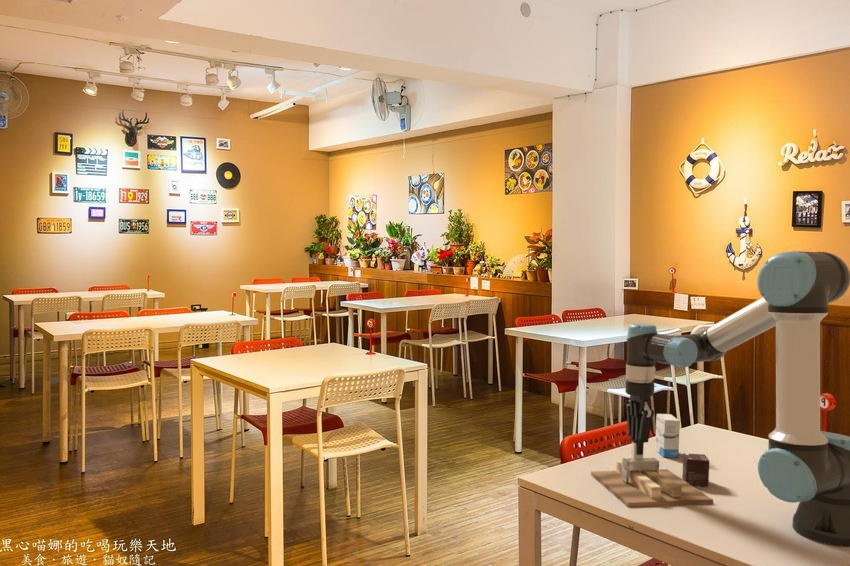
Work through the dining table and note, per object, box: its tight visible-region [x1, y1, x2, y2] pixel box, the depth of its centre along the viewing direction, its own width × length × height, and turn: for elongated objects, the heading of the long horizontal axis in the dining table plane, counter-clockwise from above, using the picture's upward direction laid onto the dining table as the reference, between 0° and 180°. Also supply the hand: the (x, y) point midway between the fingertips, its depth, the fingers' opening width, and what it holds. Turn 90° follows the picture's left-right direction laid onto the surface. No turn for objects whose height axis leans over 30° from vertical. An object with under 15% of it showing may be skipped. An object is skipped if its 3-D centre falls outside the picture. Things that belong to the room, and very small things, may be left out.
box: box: [681, 453, 710, 487], centre depth 196 cm, size 6×6×7 cm
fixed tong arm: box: [615, 460, 661, 499], centre depth 190 cm, size 22×2×3 cm, turn 9°
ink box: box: [654, 413, 681, 458], centre depth 222 cm, size 8×5×12 cm, turn 179°
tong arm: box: [638, 470, 682, 497], centre depth 189 cm, size 18×2×3 cm, turn 16°
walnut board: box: [590, 469, 714, 508], centre depth 190 cm, size 24×23×1 cm
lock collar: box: [621, 457, 660, 483], centre depth 192 cm, size 3×9×6 cm, turn 98°
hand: (636, 464), depth 195 cm, fingers closed
